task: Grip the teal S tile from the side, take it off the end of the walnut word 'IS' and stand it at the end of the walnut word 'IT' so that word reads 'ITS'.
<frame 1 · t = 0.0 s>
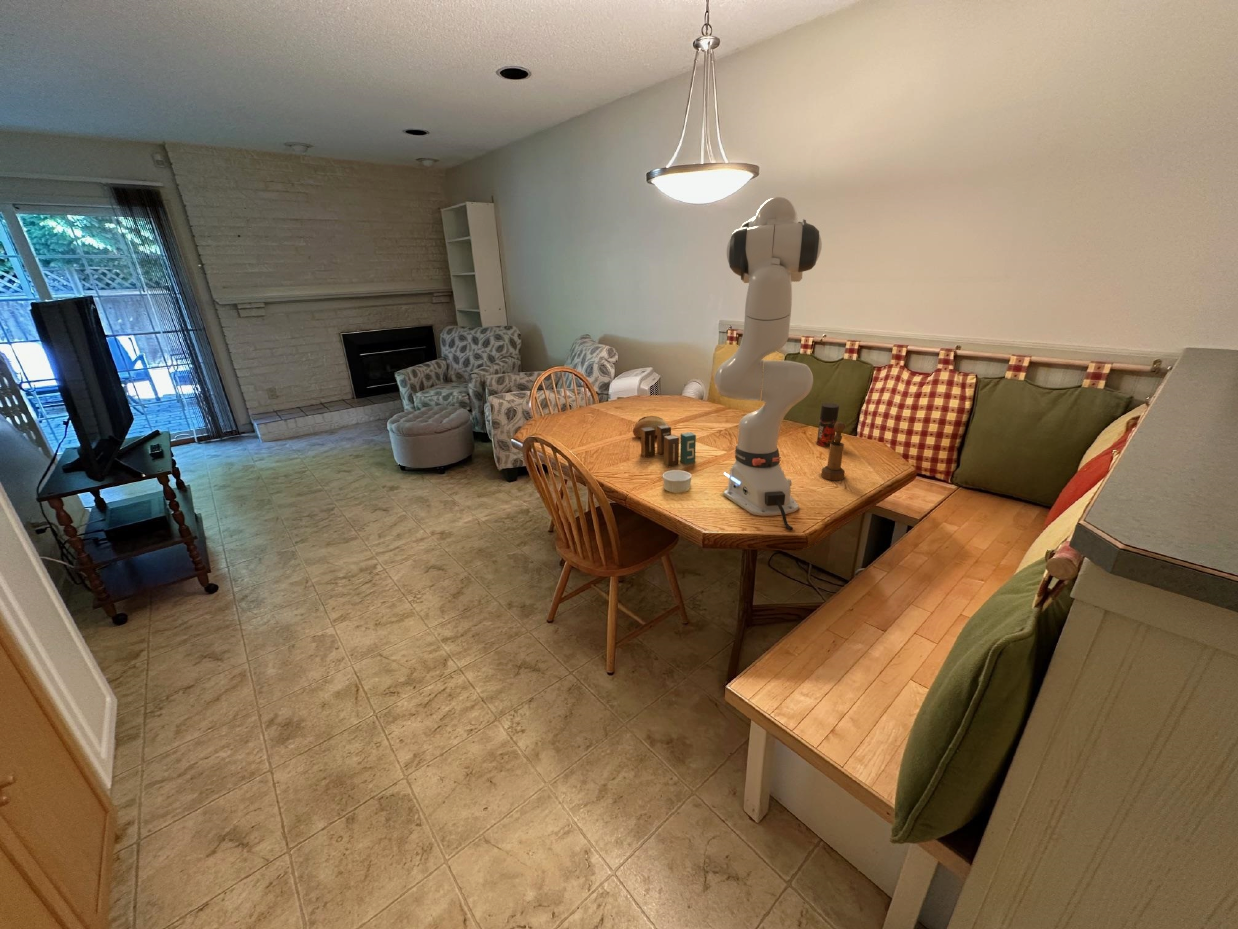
hand: (770, 292, 172), 54 cm above the table, tool tilted 30°, fingers open, 8 cm apart
s tile: (687, 461, 168), on the table
ramekin: (676, 488, 147), on the table
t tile: (663, 452, 177), on the table
bread roll: (651, 436, 196), on the table
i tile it: (648, 455, 175), on the table
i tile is: (671, 464, 166), on the table
deodorant: (825, 444, 180), on the table
brown tall turned piece: (832, 477, 152), on the table
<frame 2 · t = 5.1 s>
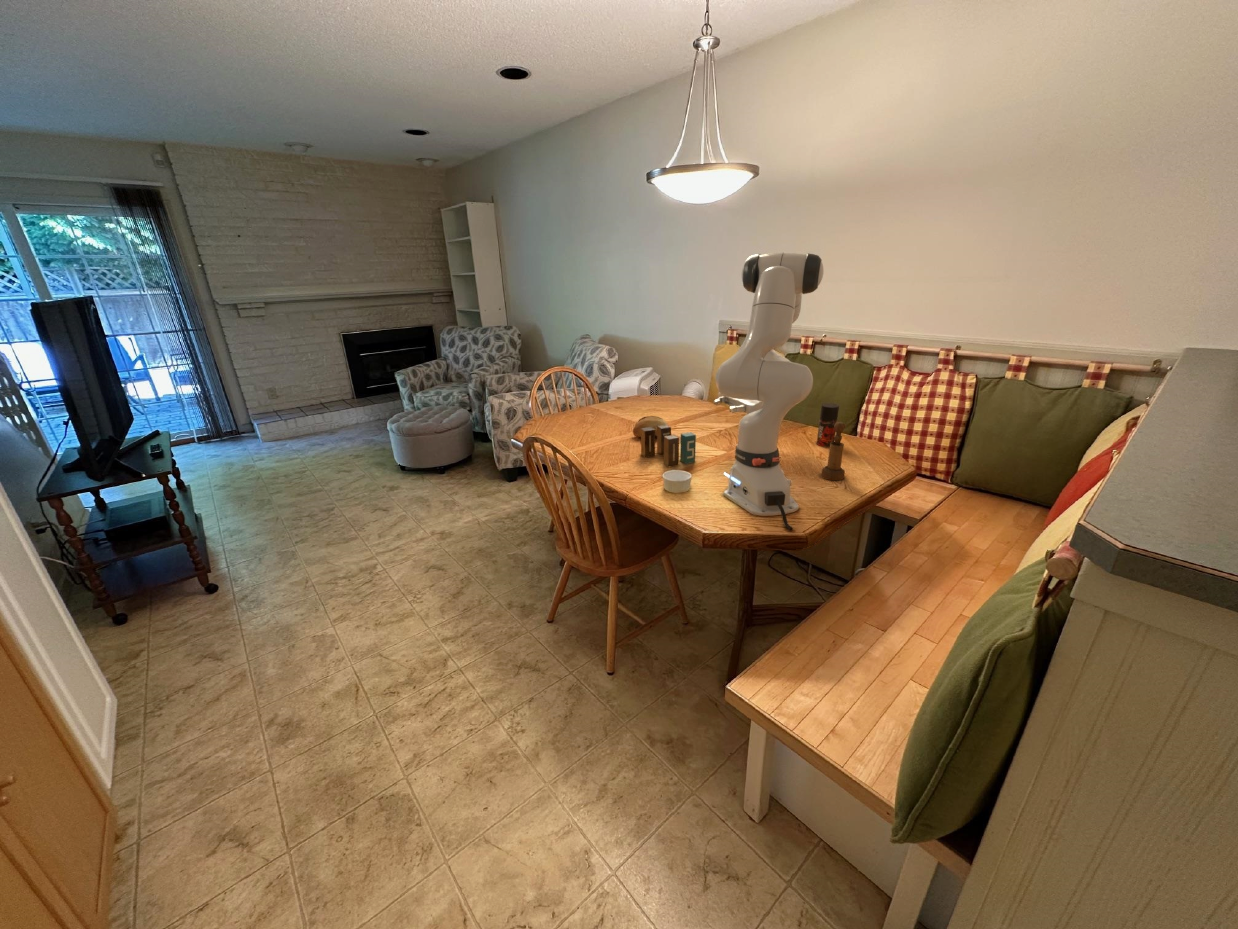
hand: (722, 406, 166), 18 cm above the table, tool horizontal, fingers open, 8 cm apart
nothing on the table moved.
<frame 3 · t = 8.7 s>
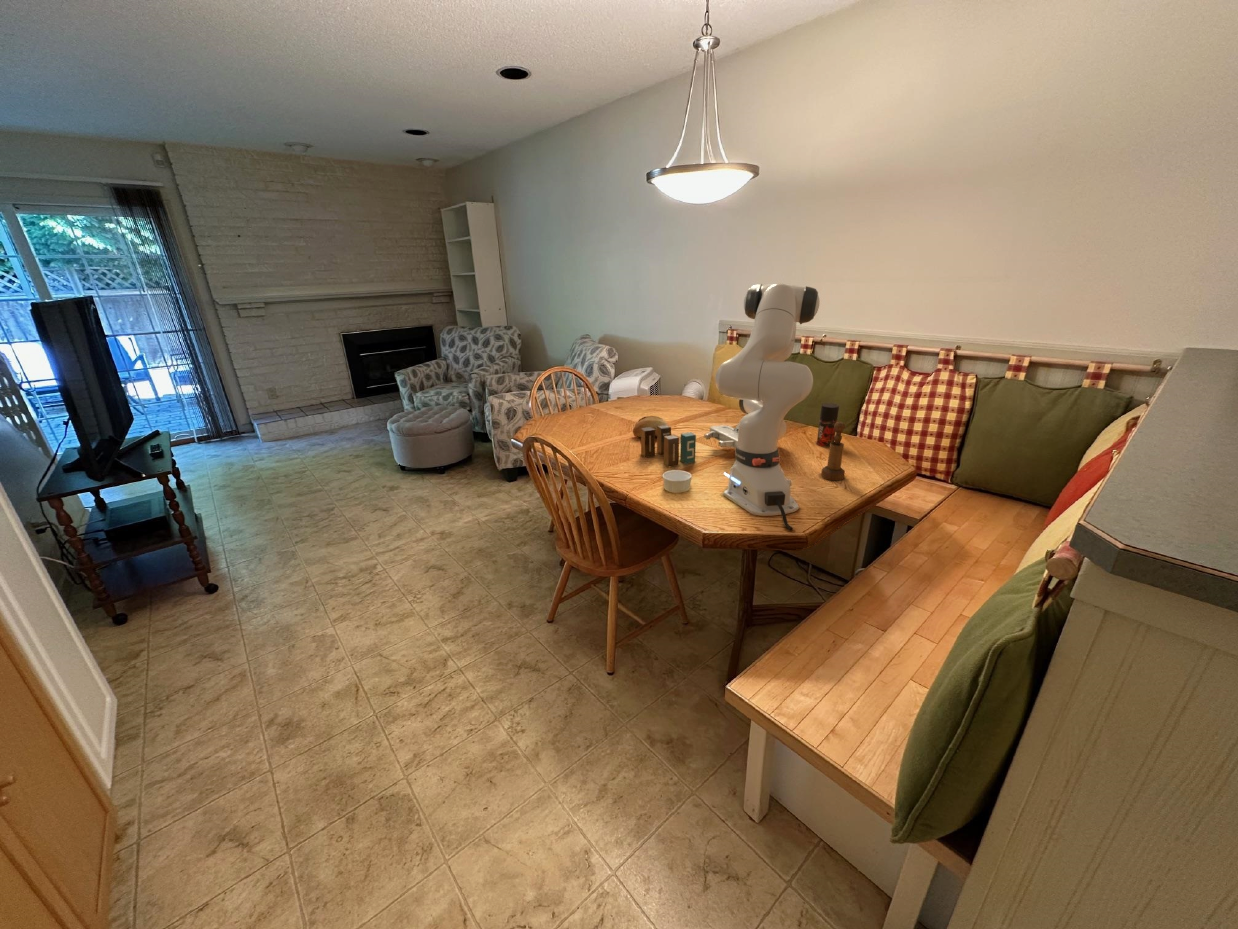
hand: (712, 440, 169), 6 cm above the table, tool horizontal, fingers open, 8 cm apart
nothing on the table moved.
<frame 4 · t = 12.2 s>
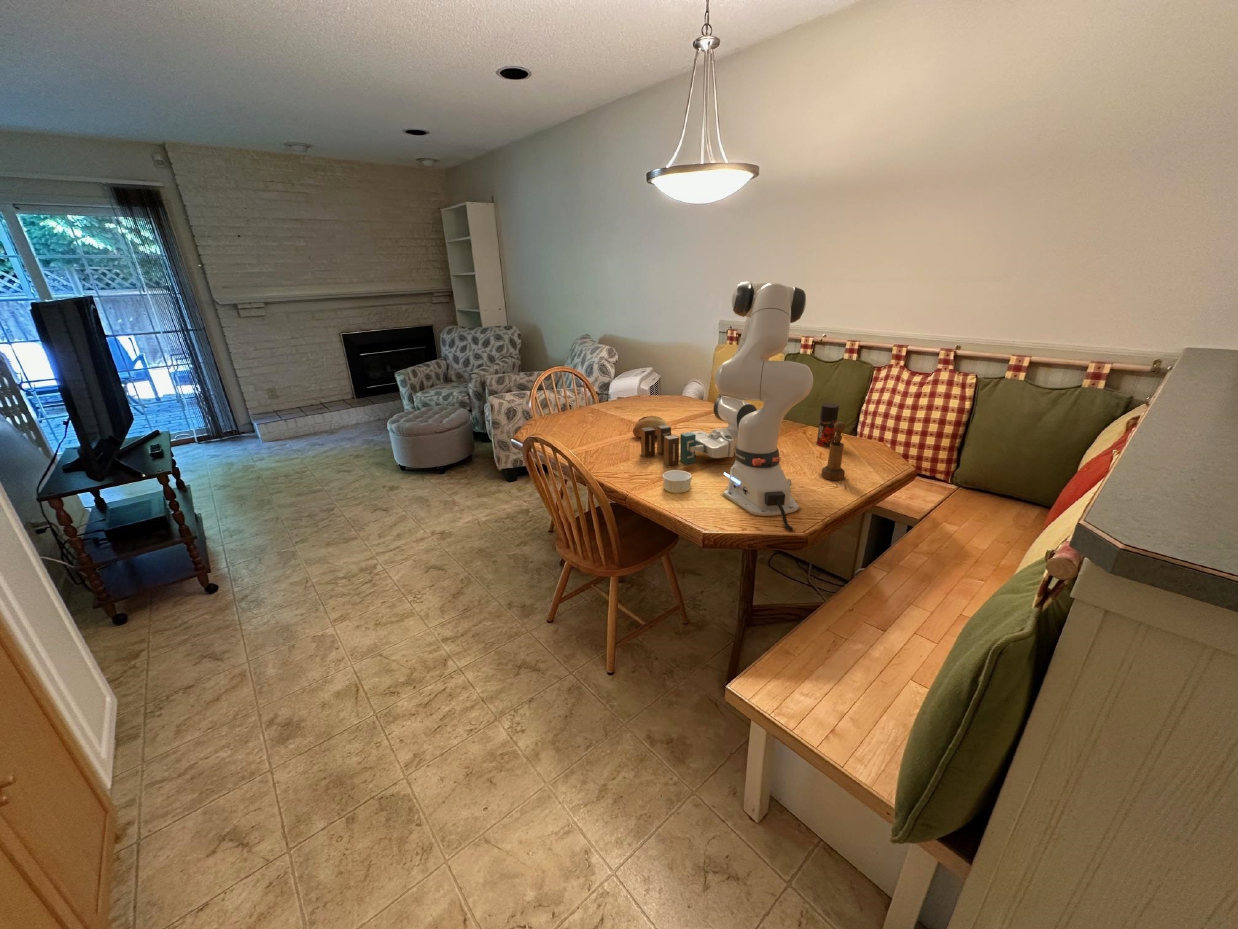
hand: (685, 447, 166), 6 cm above the table, tool horizontal, fingers closed on s tile, 4 cm apart
s tile: (687, 461, 168), on the table, touching gripper
everything else where it was.
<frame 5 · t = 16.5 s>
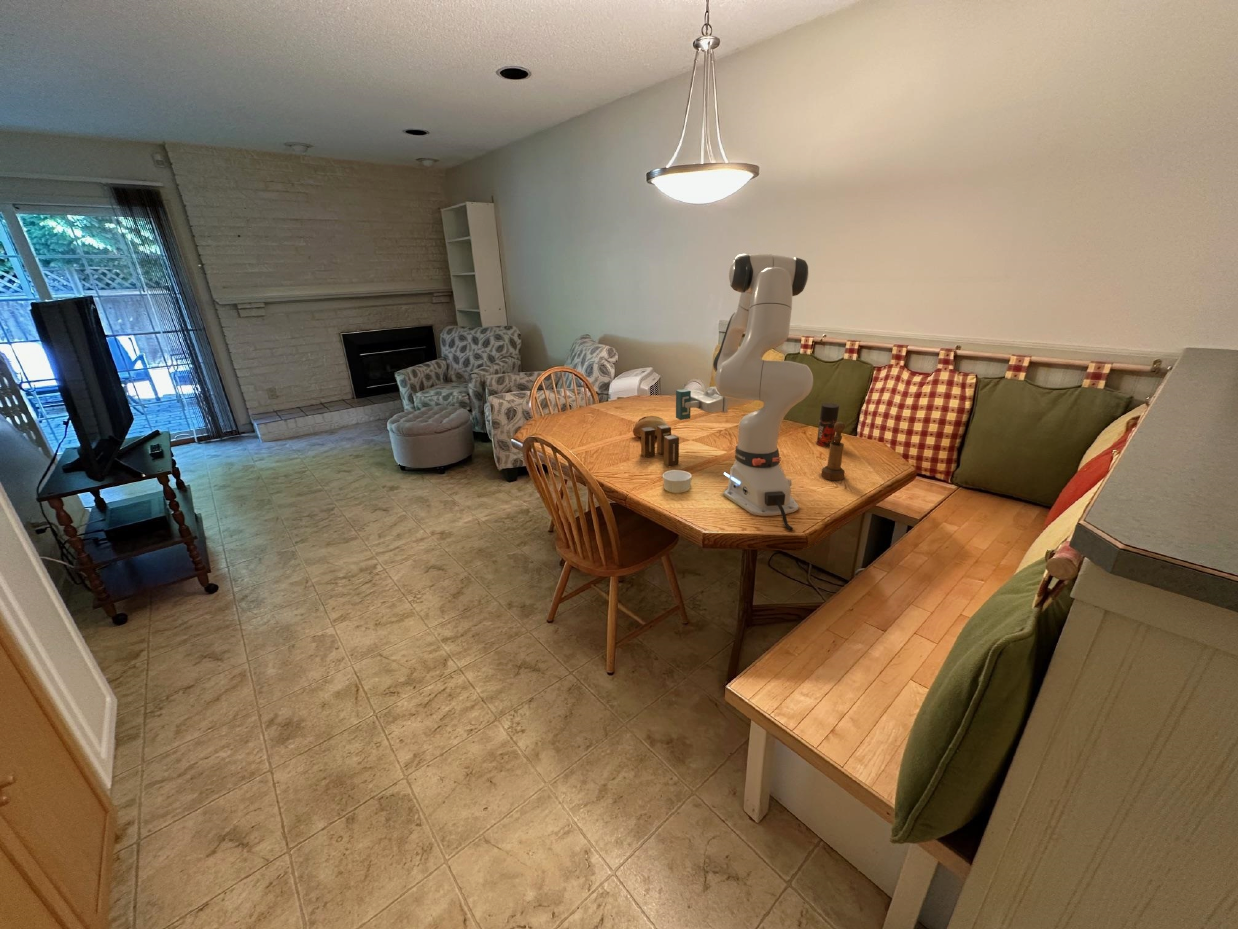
hand: (681, 403, 168), 19 cm above the table, tool horizontal, fingers closed on s tile, 4 cm apart
s tile: (683, 418, 170), point 13 cm above the table, touching gripper
everything else where it was.
when the fingers open (5 cm above the table, at t = 21.0 s): s tile stays where it is, on the table.
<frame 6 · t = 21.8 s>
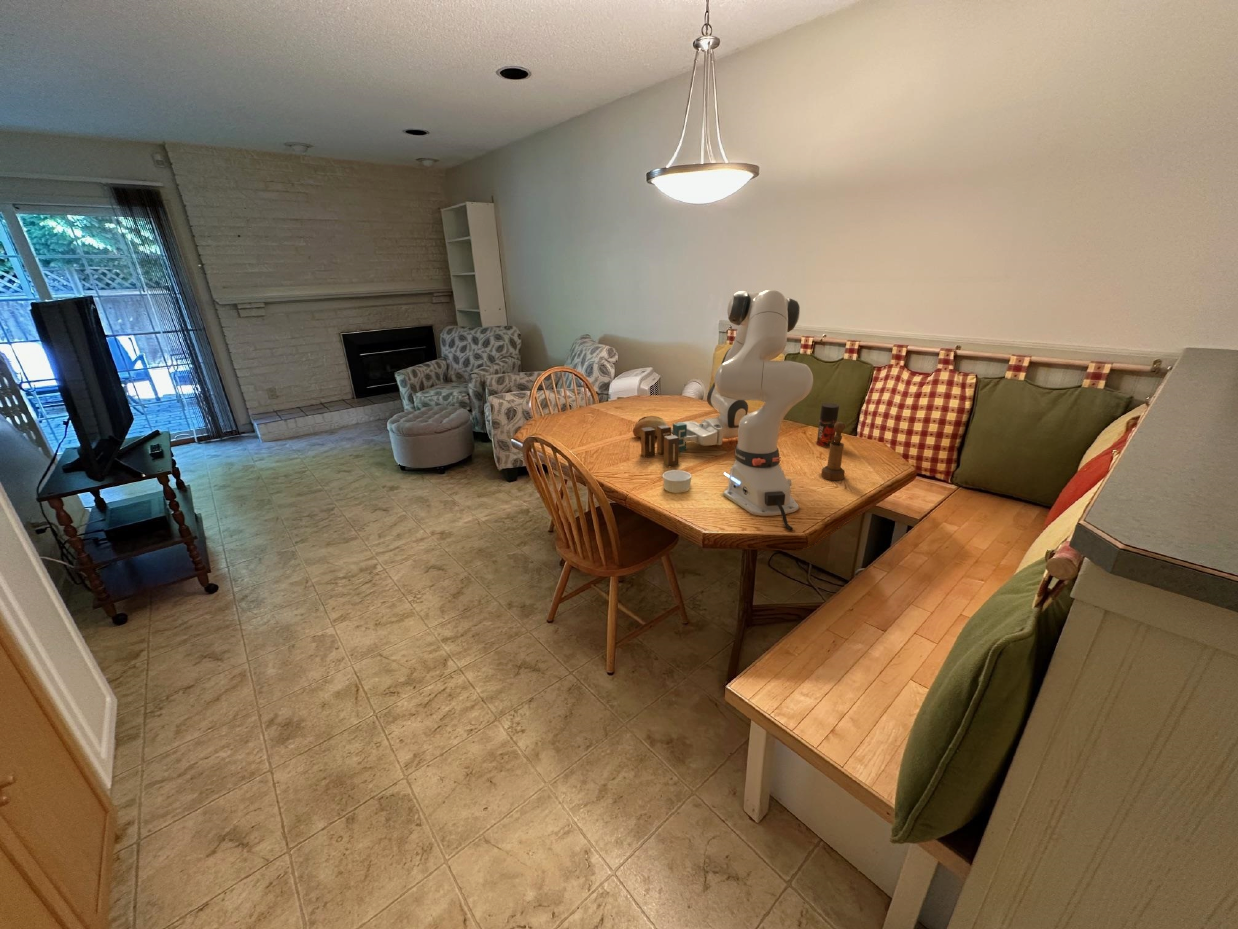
hand: (677, 435, 177), 6 cm above the table, tool horizontal, fingers open, 8 cm apart
s tile: (679, 449, 180), on the table
everything else where it was.
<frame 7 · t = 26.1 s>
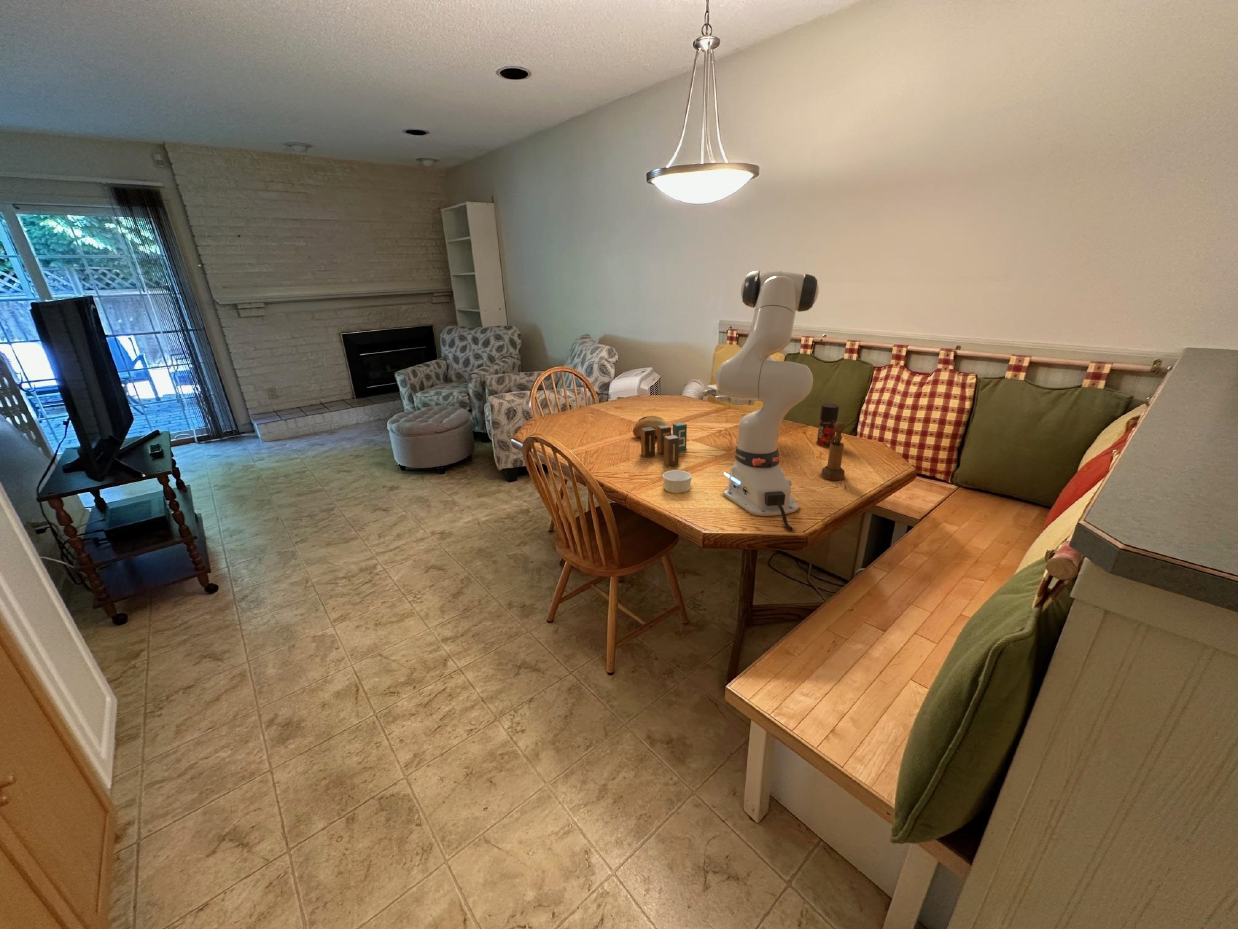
hand: (709, 396, 176), 19 cm above the table, tool horizontal, fingers open, 8 cm apart
nothing on the table moved.
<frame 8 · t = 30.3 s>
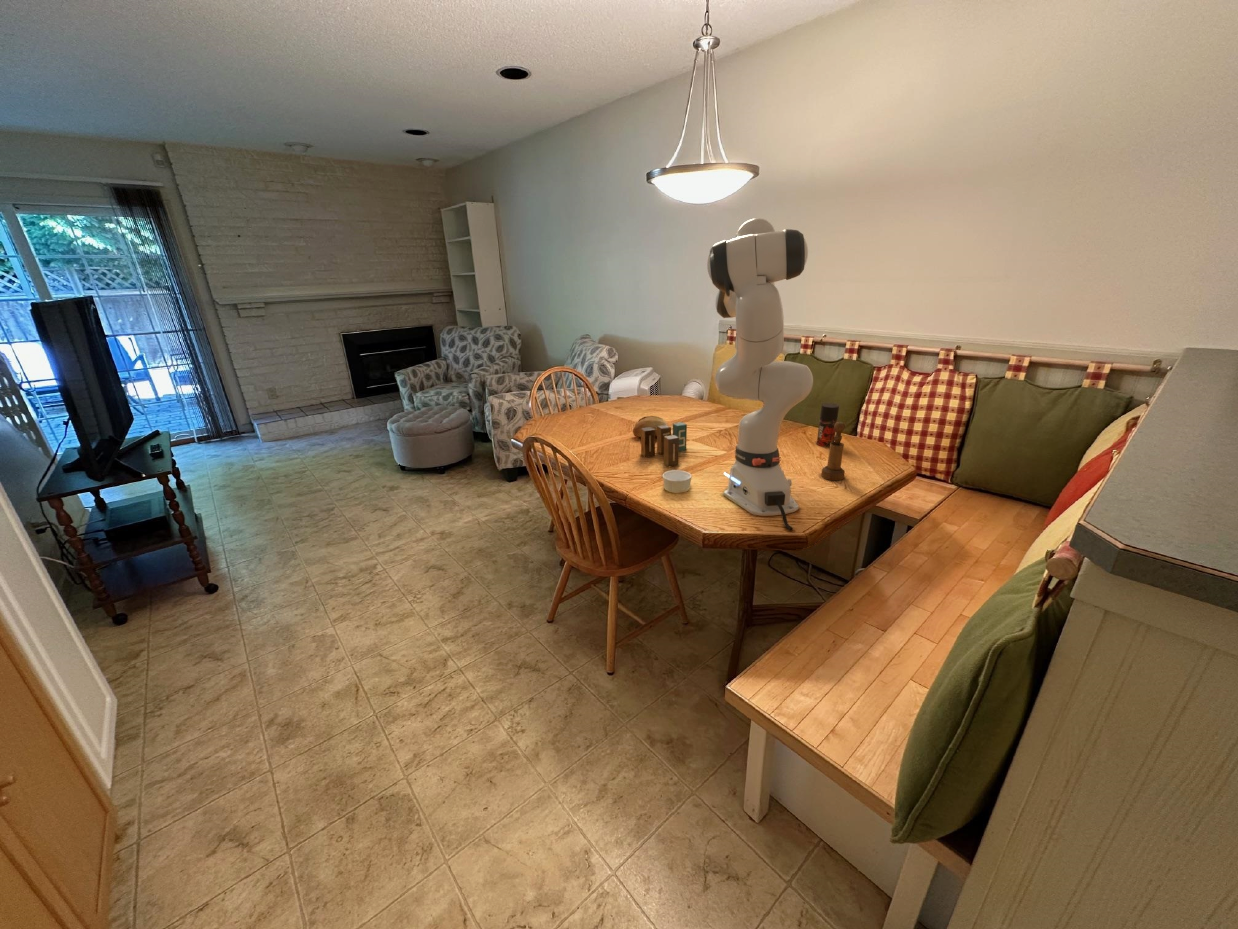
hand: (754, 366, 163), 31 cm above the table, tool pointing down, fingers open, 8 cm apart
nothing on the table moved.
at the end: s tile 0.2 cm from the target spot, on the table; s tile tilted 0°; the gripper is holding nothing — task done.
